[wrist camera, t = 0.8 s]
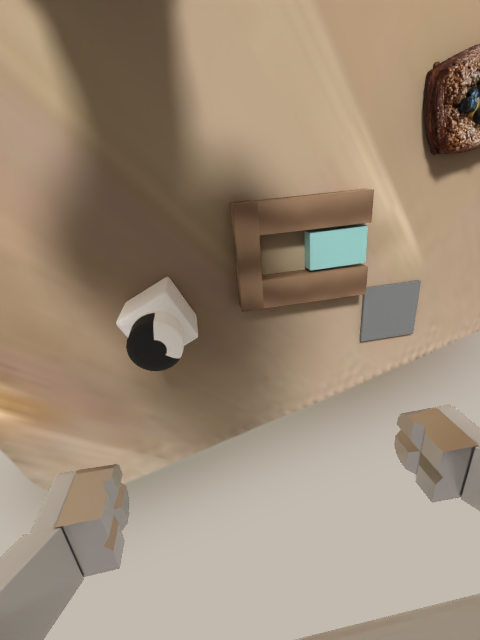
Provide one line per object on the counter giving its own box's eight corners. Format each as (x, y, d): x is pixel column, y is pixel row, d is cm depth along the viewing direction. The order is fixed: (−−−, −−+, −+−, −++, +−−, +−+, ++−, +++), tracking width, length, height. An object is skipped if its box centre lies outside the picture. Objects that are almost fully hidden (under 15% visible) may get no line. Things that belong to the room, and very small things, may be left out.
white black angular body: (155, 340, 47) (147, 389, 36) (124, 302, 44) (104, 343, 33) (197, 315, 47) (201, 357, 36) (168, 274, 44) (162, 307, 33)
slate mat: (363, 287, 49) (365, 288, 49) (418, 280, 50) (420, 281, 50) (359, 340, 53) (361, 341, 52) (411, 332, 54) (412, 333, 53)
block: (303, 230, 45) (310, 233, 42) (358, 223, 45) (367, 225, 43) (304, 265, 47) (310, 270, 44) (356, 258, 48) (365, 262, 45)
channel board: (230, 203, 41) (232, 204, 39) (363, 189, 43) (373, 189, 41) (239, 305, 47) (242, 311, 45) (357, 288, 49) (365, 294, 47)
